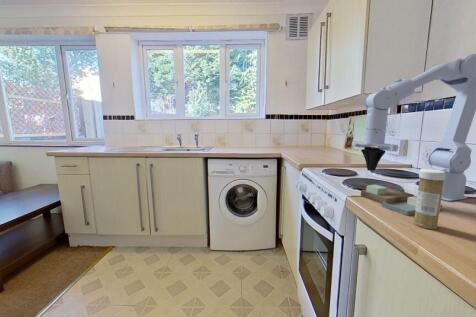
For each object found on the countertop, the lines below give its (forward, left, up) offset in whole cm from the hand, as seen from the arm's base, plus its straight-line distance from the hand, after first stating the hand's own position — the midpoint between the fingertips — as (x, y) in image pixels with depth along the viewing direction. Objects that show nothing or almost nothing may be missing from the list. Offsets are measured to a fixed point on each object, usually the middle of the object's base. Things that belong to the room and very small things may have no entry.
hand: (371, 170), depth 76 cm
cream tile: (-5, +13, -8) cm, 16 cm away
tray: (-1, +13, -9) cm, 16 cm away
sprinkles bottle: (+8, +22, -9) cm, 25 cm away
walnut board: (-2, +5, -9) cm, 10 cm away
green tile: (+1, +4, -7) cm, 8 cm away
